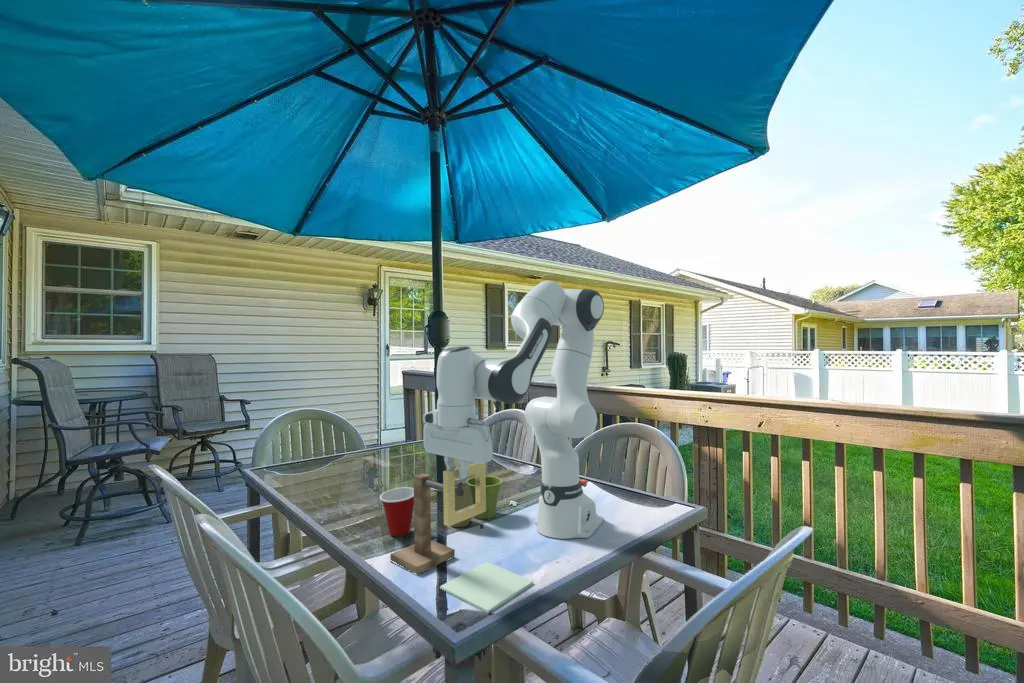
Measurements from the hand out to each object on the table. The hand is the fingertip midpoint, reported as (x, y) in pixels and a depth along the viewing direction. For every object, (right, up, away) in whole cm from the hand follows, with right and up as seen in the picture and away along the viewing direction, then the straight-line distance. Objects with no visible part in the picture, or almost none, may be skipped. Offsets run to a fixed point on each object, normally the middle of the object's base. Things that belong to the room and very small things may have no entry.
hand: (457, 476), depth 103 cm
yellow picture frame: (+2, -10, +2) cm, 10 cm away
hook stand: (-7, -25, +9) cm, 27 cm away
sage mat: (+7, -24, -1) cm, 25 cm away
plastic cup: (-21, -26, +29) cm, 44 cm away
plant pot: (+4, -26, +42) cm, 50 cm away
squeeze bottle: (-4, -26, +35) cm, 44 cm away
